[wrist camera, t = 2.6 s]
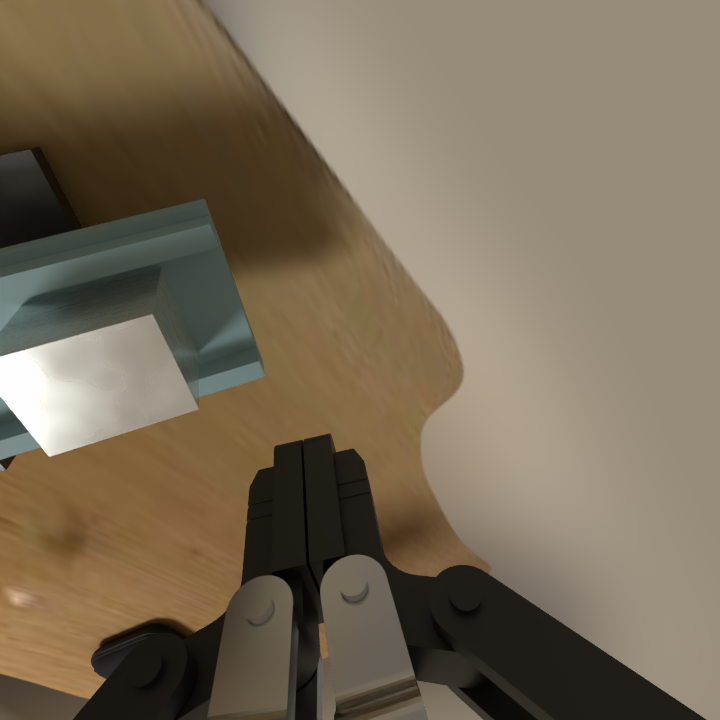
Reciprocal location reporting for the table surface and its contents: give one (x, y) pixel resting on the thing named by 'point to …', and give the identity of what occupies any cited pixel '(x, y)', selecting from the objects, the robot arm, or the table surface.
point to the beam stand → (30, 206)
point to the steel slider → (99, 362)
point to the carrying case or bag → (123, 648)
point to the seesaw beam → (131, 257)
